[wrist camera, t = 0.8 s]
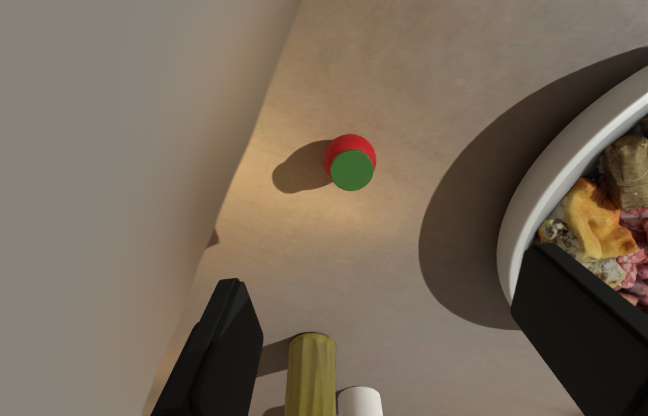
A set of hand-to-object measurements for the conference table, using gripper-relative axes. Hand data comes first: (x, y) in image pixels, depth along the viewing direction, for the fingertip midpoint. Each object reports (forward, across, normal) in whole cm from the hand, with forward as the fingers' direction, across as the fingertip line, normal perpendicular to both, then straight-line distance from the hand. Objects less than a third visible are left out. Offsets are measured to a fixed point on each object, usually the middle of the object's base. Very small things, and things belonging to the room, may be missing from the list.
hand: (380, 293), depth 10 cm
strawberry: (+16, 0, 0) cm, 16 cm away
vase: (+16, +7, +25) cm, 30 cm away
